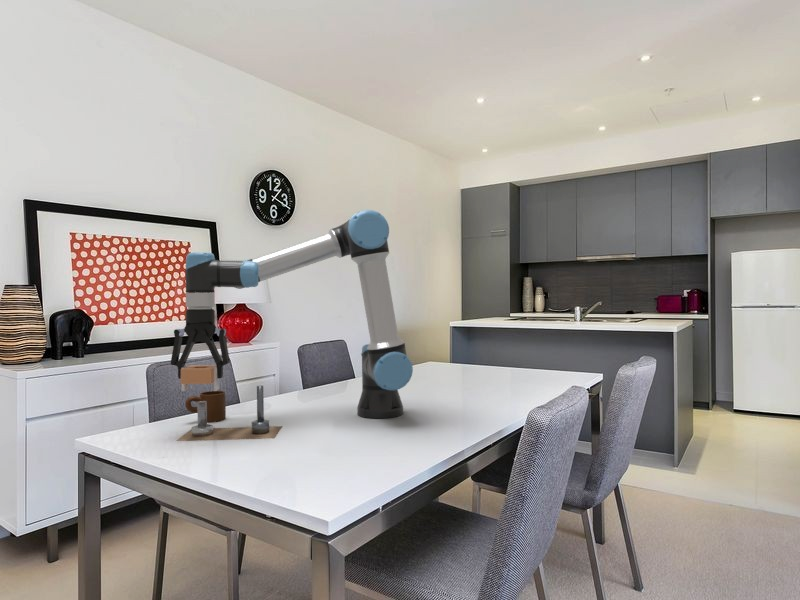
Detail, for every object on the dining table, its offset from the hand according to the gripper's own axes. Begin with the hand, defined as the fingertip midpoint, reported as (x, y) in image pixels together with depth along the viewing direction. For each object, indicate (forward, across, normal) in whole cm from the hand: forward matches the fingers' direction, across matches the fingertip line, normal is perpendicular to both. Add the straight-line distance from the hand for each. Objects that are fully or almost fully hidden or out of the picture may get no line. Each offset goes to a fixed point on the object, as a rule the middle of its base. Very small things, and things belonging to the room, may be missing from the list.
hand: (200, 390), depth 145 cm
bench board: (+13, -8, 0) cm, 16 cm away
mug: (+13, +4, -16) cm, 21 cm away
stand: (+12, -16, 0) cm, 20 cm away
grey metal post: (+12, 0, 0) cm, 12 cm away
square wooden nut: (-2, 0, 0) cm, 2 cm away
